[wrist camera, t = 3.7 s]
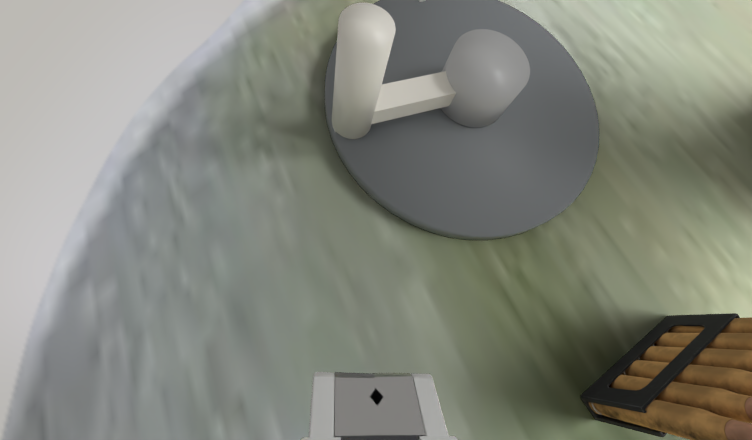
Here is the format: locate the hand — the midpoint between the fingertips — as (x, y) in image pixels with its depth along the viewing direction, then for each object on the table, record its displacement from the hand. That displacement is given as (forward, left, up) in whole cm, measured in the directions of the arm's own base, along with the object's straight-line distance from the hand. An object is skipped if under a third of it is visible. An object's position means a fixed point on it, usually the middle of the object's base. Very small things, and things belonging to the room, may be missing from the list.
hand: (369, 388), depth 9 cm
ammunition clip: (-21, +8, -16) cm, 27 cm away
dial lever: (-12, -16, -14) cm, 24 cm away
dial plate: (-17, -16, -16) cm, 28 cm away
